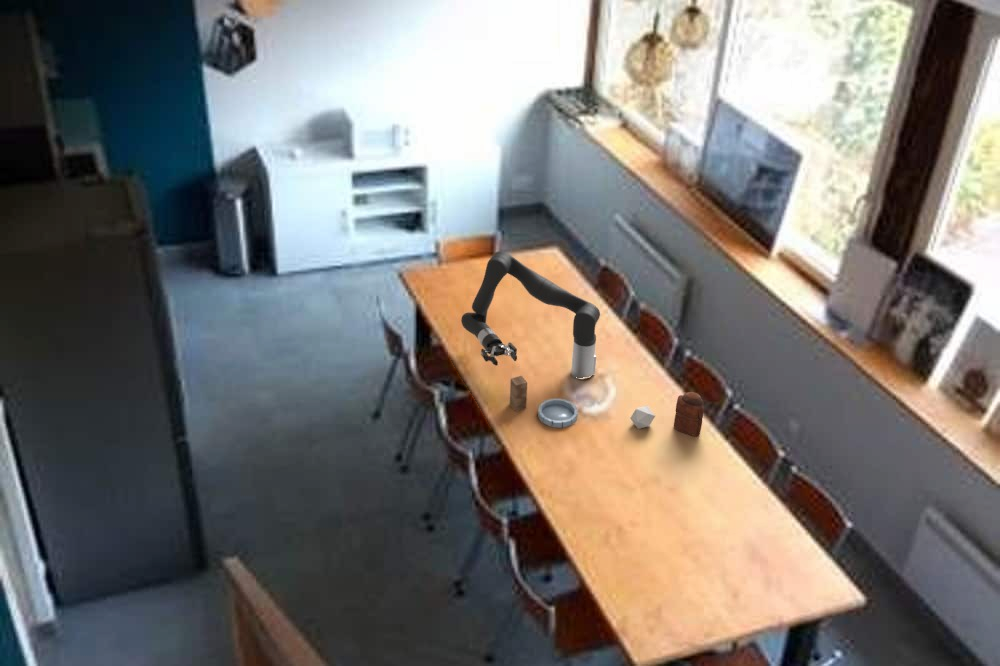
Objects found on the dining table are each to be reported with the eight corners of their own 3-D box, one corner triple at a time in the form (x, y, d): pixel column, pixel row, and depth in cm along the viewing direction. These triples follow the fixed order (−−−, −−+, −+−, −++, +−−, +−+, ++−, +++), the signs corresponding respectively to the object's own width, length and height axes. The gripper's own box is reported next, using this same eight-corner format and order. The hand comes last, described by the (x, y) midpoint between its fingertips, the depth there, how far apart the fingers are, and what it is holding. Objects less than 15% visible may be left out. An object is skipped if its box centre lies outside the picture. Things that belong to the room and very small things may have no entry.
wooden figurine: (703, 430, 414) (710, 394, 404) (698, 439, 409) (704, 402, 399) (676, 420, 418) (681, 384, 408) (670, 429, 414) (675, 393, 404)
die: (645, 417, 421) (632, 400, 417) (662, 417, 414) (649, 400, 410) (636, 433, 417) (622, 416, 413) (652, 433, 410) (639, 417, 406)
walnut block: (520, 401, 427) (521, 375, 420) (526, 408, 423) (527, 382, 416) (509, 404, 425) (510, 378, 418) (515, 411, 421) (516, 385, 414)
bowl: (565, 399, 428) (565, 394, 427) (583, 421, 417) (584, 416, 415) (531, 409, 422) (531, 404, 421) (549, 431, 411) (549, 426, 409)
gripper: (474, 336, 431) (491, 357, 419) (505, 329, 437) (522, 350, 425) (474, 351, 435) (490, 372, 423) (504, 344, 441) (521, 365, 429)
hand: (506, 361), depth 424 cm, fingers open, 8 cm apart
